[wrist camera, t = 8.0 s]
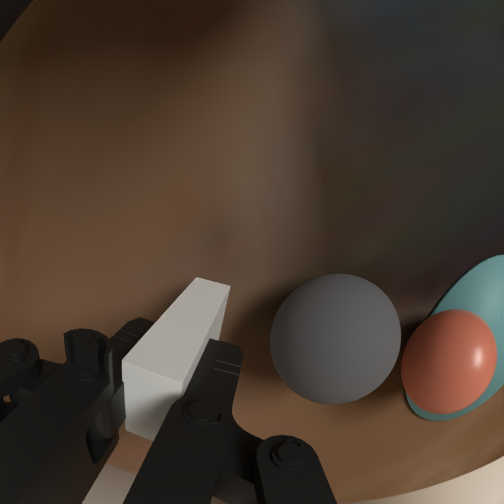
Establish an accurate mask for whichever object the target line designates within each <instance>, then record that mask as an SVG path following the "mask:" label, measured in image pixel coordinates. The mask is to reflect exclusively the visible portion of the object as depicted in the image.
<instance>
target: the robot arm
mask: <svg viewBox="0 0 504 504" xmlns="http://www.w3.org/2000/svg"><path fill="white" fill-rule="evenodd" d="M229 290H230V286H228V285H224V284H220V283H217V282H213V281H209V280H205V279H202V278H198V277H196V278H195V280H194V281H193V282H192V283H191V284H190V285H189V286H188V287H187V288H186V289H185V290H184V291H183V293H182V294H181V295H180V296H179V297H178V298H177V299H176V300H175V301H174V302H173V304H172V305H171V306H170V307H169V308H168V309H167V310H166V311H165V312H164V313H163V315H162V316H161V317H160V318H159V319H158V320H157V321H156V322H152V321H149V320H146V319H144V318H141V317H140V318H137V319H134V320H132V321H129V322H127V323H126V324H125V325H124V326H123V327H122V328H121V330H119V331H118V332H117V333H116V334H115V335H114V336H112V337H111V338H110V339H108V338H107V336H105V335H103V334H102V333H100V332H98V331H94V330H91V329H75V330H70V331H68V332H66V333H64V343H65V351H66V358H67V361H66V362H65V363H64V364H58V363H54V362H50V361H47V360H43V359H40V357H39V352H38V349H37V347H36V346H35V344H33V343H32V342H30V341H28V340H25V339H19V338H14V339H10V340H6V341H4V342H1V343H0V504H82V502H83V501H84V499H85V497H86V495H87V494H88V492H89V490H90V489H91V487H92V485H93V483H94V482H95V480H96V478H97V477H98V475H99V473H100V472H101V470H102V468H103V467H104V465H105V463H106V462H107V460H108V458H109V457H110V455H111V453H112V452H113V450H114V448H115V447H116V445H117V443H118V440H119V432H118V429H119V428H120V426H121V425H122V423H123V422H124V420H125V426H126V430H127V431H129V432H131V433H134V434H136V435H139V436H141V437H144V438H146V439H149V440H152V441H153V443H152V445H151V447H150V449H149V451H148V453H147V455H146V457H145V459H144V461H143V464H142V466H141V468H140V470H139V472H138V474H137V476H136V478H135V480H134V482H133V484H132V486H131V488H130V490H129V492H128V494H127V496H126V498H125V500H124V502H123V504H210V503H211V499H212V496H214V497H216V498H218V499H220V500H222V501H224V502H226V503H228V504H337V502H336V500H335V497H334V495H333V493H332V490H331V488H330V485H329V483H328V480H327V478H326V476H325V473H324V471H323V468H322V466H321V463H320V461H319V458H318V456H317V454H316V452H315V451H314V450H313V448H312V447H311V446H310V445H309V444H307V443H306V442H305V441H303V440H301V439H298V438H296V437H293V436H287V435H277V436H271V437H269V438H267V439H266V440H262V439H260V438H258V437H256V436H254V435H251V434H250V433H248V432H246V431H245V430H243V429H242V428H241V427H240V426H239V425H238V424H237V423H236V421H235V420H234V418H233V415H232V405H233V400H234V396H235V391H236V387H237V382H238V378H239V373H240V369H241V364H242V360H243V354H242V352H241V349H240V347H239V346H237V345H233V344H230V343H226V342H222V341H218V340H219V336H220V331H221V327H222V322H223V317H224V313H225V308H226V304H227V299H228V295H229ZM8 394H9V397H10V399H11V402H5V401H4V400H3V398H2V397H4V396H6V395H8Z"/></svg>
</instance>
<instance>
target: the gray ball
mask: <svg viewBox="0 0 504 504" xmlns="http://www.w3.org/2000/svg"><path fill="white" fill-rule="evenodd" d="M400 343H401V328H400V322H399V318H398V315H397V313H396V310H395V308H394V306H393V304H392V303H391V301H390V300H389V298H388V297H387V296H386V295H385V293H384V292H383V291H382V290H381V289H379V288H378V287H377V286H376V285H374V284H373V283H371V282H369V281H367V280H365V279H363V278H361V277H357V276H354V275H348V274H328V275H323V276H320V277H316V278H314V279H311V280H309V281H307V282H305V283H304V284H302V285H300V286H299V287H298V288H296V289H295V290H294V291H293V292H292V293H291V294H290V295H289V296H288V297H287V298H286V299H285V300H284V302H283V303H282V304H281V306H280V308H279V310H278V312H277V314H276V316H275V318H274V321H273V324H272V328H271V334H270V350H271V356H272V360H273V363H274V366H275V368H276V370H277V372H278V374H279V376H280V377H281V378H282V380H283V381H284V382H285V383H286V385H287V386H288V387H289V388H290V389H291V390H293V391H294V392H295V393H297V394H298V395H300V396H302V397H303V398H306V399H308V400H310V401H313V402H317V403H322V404H343V403H348V402H352V401H355V400H358V399H360V398H362V397H364V396H366V395H368V394H369V393H371V392H372V391H374V390H375V389H376V388H377V387H378V386H379V385H381V384H382V382H383V381H384V380H385V379H386V378H387V376H388V375H389V374H390V372H391V370H392V369H393V367H394V365H395V363H396V360H397V358H398V354H399V350H400Z"/></svg>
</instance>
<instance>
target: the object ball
mask: <svg viewBox="0 0 504 504" xmlns="http://www.w3.org/2000/svg"><path fill="white" fill-rule="evenodd" d="M496 363H497V346H496V341H495V338H494V335H493V333H492V331H491V329H490V327H489V326H488V324H487V323H486V322H485V321H484V320H483V319H482V318H481V317H479V316H478V315H476V314H474V313H472V312H470V311H467V310H462V309H450V310H445V311H441V312H439V313H436V314H434V315H432V316H431V317H429V318H428V319H426V320H425V321H424V322H423V323H421V324H420V325H419V326H418V327H417V329H416V330H415V331H414V332H413V334H412V335H411V337H410V338H409V340H408V342H407V344H406V347H405V349H404V352H403V356H402V361H401V377H402V382H403V386H404V388H405V391H406V393H407V394H408V396H409V398H410V399H411V400H412V401H413V402H414V403H415V404H416V405H417V406H418V407H420V408H421V409H423V410H425V411H427V412H430V413H434V414H450V413H455V412H457V411H460V410H463V409H464V408H466V407H468V406H470V405H471V404H472V403H474V402H475V401H476V400H477V399H478V398H479V397H480V396H481V395H482V394H483V393H484V391H485V390H486V389H487V387H488V385H489V384H490V382H491V380H492V377H493V375H494V372H495V368H496Z"/></svg>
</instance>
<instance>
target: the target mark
mask: <svg viewBox="0 0 504 504" xmlns="http://www.w3.org/2000/svg"><path fill="white" fill-rule="evenodd" d="M450 309H462V310H467V311H470V312H472V313H474V314H476V315H478V316H479V317H481V318H482V319H483V320H484V321H485V322H486V323H487V324H488V326H489V327H490V329H491V331H492V333H493V335H494V338H495V341H496V346H497V363H496V368H495V372H494V375H493V377H492V380H491V382H490V384H489V385H488V387H487V389H486V390H485V391H484V393H483V394H482V395H481V396H480V397H479V398H478V399H477V400H476V401H475V402H474V403H472V404H471V405H470V406H468V407H466V408H464V409H463V410H460V411H457V412H455V413H450V414H434V413H430V412H427V411H425V410H423V409H421V408H420V407H418V406H417V405H416V404H415V403H414V402H413V401H412V400H411V399H410V398H409V396H408V394H407V393H406V397H407V400H408V402H409V404H410V406H411V408H412V410H413V411H414V412H415V413H416V414H417V415H419V416H420V417H422V418H425V419H427V420H433V421H442V420H449V419H453V418H456V417H459V416H461V415H464V414H466V413H468V412H470V411H472V410H474V409H475V408H477V407H478V406H480V405H481V404H483V403H484V402H485V401H487V400H488V399H489V398H490V397H491V396H493V395H494V394H495V393H496V392H497V391H498V390H499V389H500V388H501V387H502V386H503V384H504V254H502V255H496V256H493V257H490V258H487V259H485V260H483V261H482V262H480V263H478V264H477V265H475V266H474V267H472V268H471V269H470V270H468V271H467V272H466V273H465V274H464V275H463V276H462V277H460V278H459V279H458V280H457V281H456V283H455V284H454V285H453V286H452V287H451V288H450V289H449V290H448V291H447V293H446V294H445V295H444V296H443V298H442V299H441V300H440V301H439V303H438V304H437V306H436V307H435V309H434V310H433V311H432V313H431V314H430V316H429V317H431V316H432V315H434V314H436V313H439V312H441V311H445V310H450ZM405 392H406V391H405Z"/></svg>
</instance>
